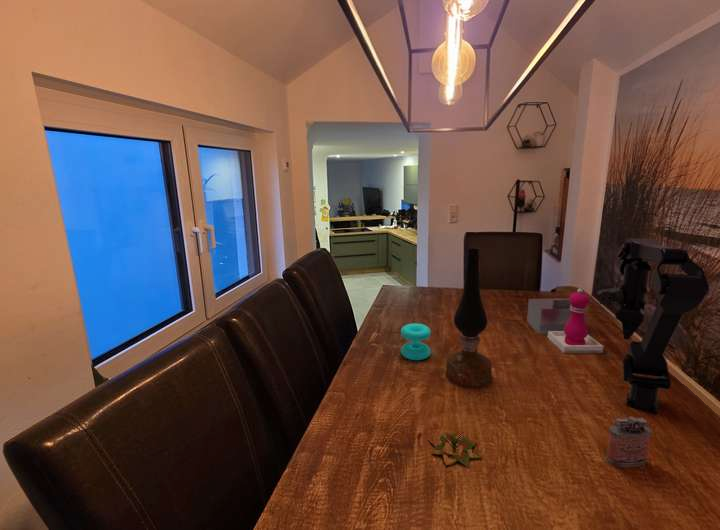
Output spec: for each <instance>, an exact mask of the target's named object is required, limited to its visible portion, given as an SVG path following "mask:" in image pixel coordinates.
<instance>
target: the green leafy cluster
mask: <svg viewBox="0 0 720 530" xmlns="http://www.w3.org/2000/svg"><path fill="white" fill-rule="evenodd" d="M449 430H450V431H452V429H451V428H449ZM457 430H458V428H457ZM444 432H445V433H444V434H445V435H446V438H447V439H448V440H449V441H451V443H452V445H451V444H450V443H449V442H448V440H447V439H446V438H445V437H444V436H443V435H442V433H440V434H441V435H440V439H441V441H442V443H440V444H438V445H437V446H435V447H433V450H438V451H439V450H440V451H441V452H440V453H438V454H436V455H441V456H442V455H448V456H451V457H452V458H455V459H456V460H458V461H455V462H452V463H450V465H449V466H452V465H454V464H455V463H457V462H460V463H461V464H462V465H464V466H465V467H466V468H468V467H469V465H470V463H469V462H470V459H484V458H483V457H482V455H481V454H479V452H478V451H477V450H476V449H473V447H474V446H476V444H478V443H477V442H474V441H472V440H470V439H469V438H466V437H465V434H464V433H465V432H464V431H462V433H461V432H459V433H461V434H463V439H462V438H460V437H462V436H460V435H461V434H460V435H459V436H460V437H459V436H458V437H459V438H460V439H461V440H459V438H457V439H456V438H455V437H456V436H455V435H456V434H459V433H454V434H452V433H448V432H447V431H446V430H444ZM454 436H455V437H454ZM447 442H448V443H449V444H450V447H451V448H452V450H453V449H456V450H457V448H459V447H458V446H460V445H462V446H463V450H462V452H461V456H459V455H454V454H449V453H447V452H445V451H442V450H444V449H443V447H444V446H443V445H445V443H447ZM457 443H458V444H459V445H457V446H456V444H457ZM475 443H476V444H475ZM469 449H472V453H475V454H476V455H477V456H479V457H469V454H468V453H467V452H466V451H467V450H469ZM442 461H443V460H442ZM443 463H444V461H443ZM449 466H448V467H449Z"/></svg>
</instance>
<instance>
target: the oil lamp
mask: <svg viewBox="0 0 720 530" xmlns="http://www.w3.org/2000/svg"><path fill="white" fill-rule="evenodd" d="M479 251H480V249H479V248H468V249H467V252H466V253H467V254H466V266H465V279H464V286H463V293H462V296H461V299H460V302H459V305H458V307H457V309H456V310H455V314H454V318H453V322H454V326H455V327H456V330H458V331H459V332H460V333H461V335H460V336H459V341H460V344H461V350H457V351H454V352H452V353H450V354H448V356H447V358H446V367H445V369H446V370H445V372H444V374H445V377H446V379H447V380H448V381H450V382H451V383H452V384H455V385H457V386H458V387H462V386H463V388H467V387H468V389H478V388H480V389H481V388H483V387H484V388H485V387H486V386H489V385H490V384H491V382H492V381H493V375H492V371H493V370H492V369H493V366H492V365H493V363H492V361H491V359H490V358H489V357H487V356H486V355H485V354H482V353H480V352H479V351H478V346H479V344H480V342H481V338H480V337H479V336H478V335H479V334H481V333H482V332H484V331H485V329H486V327H487V325H488V317H487V312H486V310H485V307H484V303H483V300H482V297H481V292H480V290H481V289H480V255H479V254H480V252H479Z"/></svg>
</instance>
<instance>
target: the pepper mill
mask: <svg viewBox="0 0 720 530" xmlns="http://www.w3.org/2000/svg"><path fill="white" fill-rule="evenodd" d="M576 291H577V292H574V293H571V295H570V296H569V302H570V304H571V306H570V310H571V317H570V319H569V321H568V322H567V324H566V325H565V328H564V333H565V334H566V336H565V343H566V344H568V345H585V339H584V338H585V337H587V335H589V330H588V326H587V323H586V320H585V317H584V315H586V313H587V311H588V305H589V304H590V297H589V296H588V295H587V294H586V293H584V290H583V288H578V289H577V290H576Z"/></svg>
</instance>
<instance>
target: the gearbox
mask: <svg viewBox="0 0 720 530" xmlns="http://www.w3.org/2000/svg"><path fill="white" fill-rule="evenodd" d="M569 298H570V297H569ZM569 298H567V297H566V298H528V304H527V317H526V323H527V322H528V323H529V325H530V327H532V329H533V330H534V331H536V333H538V334H539V335H548V331H564V328H565V325H566V324H567V322H568V321H569V319H570V317H571V310H570V306H571V304H570V302H569ZM585 315H586V314H585ZM585 315H584V318H585ZM528 323H527V324H528Z"/></svg>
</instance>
